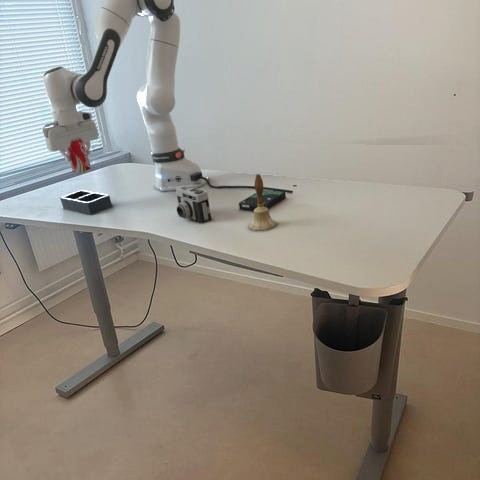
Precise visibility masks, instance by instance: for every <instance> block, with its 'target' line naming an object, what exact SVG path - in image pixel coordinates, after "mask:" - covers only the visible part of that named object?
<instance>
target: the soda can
mask: <svg viewBox="0 0 480 480" xmlns="http://www.w3.org/2000/svg"><path fill="white" fill-rule="evenodd" d="M65 153H66V154H67V155H68V156H70V157H71V161H68V162H69V165H70V168H71V171H72V172H73V173H75V174H77V175H80V174H85V173H88V172H90V170H91V169H92V167H91V162H90V158H89V155H88V154H87V151H86V145H85V144H84V142H83V141H82V140H81V138H79V139H76V140H71V145H70V147H69V148H66V152H65Z"/></svg>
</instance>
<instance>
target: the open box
mask: <svg viewBox="0 0 480 480" xmlns="http://www.w3.org/2000/svg"><path fill="white" fill-rule="evenodd" d="M110 196H111V195H110V194H106V193H100V192H94V191H90V190H84V189H80V190H77V191H74V192H72V193H68V194H66V195H63V196H61V197H59V199H60V202H61V206H62V208H63V210H67V211H72V212H76V213H80V214H85V215H89V216H92V215H95V214H97V213H100V212H102V211H104V210H107V209H109V208H112V207H113V204H112V200H111V197H110Z"/></svg>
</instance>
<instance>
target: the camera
mask: <svg viewBox="0 0 480 480" xmlns="http://www.w3.org/2000/svg"><path fill="white" fill-rule="evenodd" d="M175 193H176V199H177V203H178V204H177V207H176V213H177V215H178V216H179V217H180V218H182V219H187V220H188V219H189V220H191V221H195V222H198V223H199V224H204V223H207V222H209V221H211V220H212V212H211V207H210V202H209V195H208V194H209V193H208V191H205V190H203V189H200V188H194V187H190V186H182V187H179V188H176V190H175Z"/></svg>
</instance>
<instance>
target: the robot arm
mask: <svg viewBox="0 0 480 480" xmlns="http://www.w3.org/2000/svg"><path fill="white" fill-rule="evenodd" d="M174 2H175V0H102V2H101V4H100V6H99V9H98V11H97V13H96V17H95V21H94V25H93V26H94V27H93V31H94V33H95V36H96V39H97V46H96V50H95V52H94V56H93V59H92V61H91V64H90V66H89V69H88V70H87V72H86V73H85V74H84V73H78V72H75V71H72V70H70V69H67V68H66V67H64V66H56V67H53V68H51V69H48V70H46V71H45V73H44V74H43V77H42V79H43V86H44V90H45V94H46V97H47V100H48V102H49V103H50V107H51V113H52V116H53V120H54V121H51V122H49V123H48V122H47V123H45V124H44V126H43V127H42V133H43V136H44V139H45V144H46V147H47V150H48V151H50V152H52V153H53V152H59V153H60V154H61V155H62V157H64V160H65V162H69V161H71V157H70V156H68V155H67V152H66V148H69V147H70V145H71V140H76V139H79V138H81V140H82V141H83V142H84V144H85V147H86V151H87V154H88V156H90V155H91V151H90V149H91V146H92V144H91V142H93V141H96V140H98V139H99V137H100V134H99V130H98V127H97V125H96V122H95V121H94V120H93V114H92V113H91V112H88V111H82V110H79V109H78V105H79V104H82V105H84V106H86V107H87V108H98V107H100V106H102V105H103V104H104V102H105V101H106V98H107V94H108V79H109V76H110V74H111V71H112V68H113V65H114V62H115V60H116V57H117V53H118V51H119V50H120V48H121V46H122V44H123V42H124V40H125V39H126V37H127V34H128V32H129V30H130V28H131V26H132V23H133V20H134V18H135V17H136V16H137V17H145V18H148V20H149V23H150V32H149V40H148V45H147V51H146V59H145V60H146V61H145V66H146V67H145V68H146V83H143V85H141V86H140V88H139V89H138V91H137V94H136V99H137V102H138V105H139V109H140V113H141V115H142V118H143V122H144V125H145V127H146V131H147V134H148V139H149V144H150V148H151V152H150V154H151V159H152V163H153V166H154V173H155V185H154V186H155V188H156V189H158V190H160V191H161V192H170V191H171V192H172V191H176V188H179V187H182V186H190V187H194V188H196V189H199V188H200V187H202V186H205V184H207V185H208V186H209V187H210V188H212V189H252V190H253V189H255V185H219V186H217V185H216V186H215V185H213V184H211V183H210V181H209V176H208V175H203V172H202V169H201V167H200V166H199V165H198V164H197V163H195V162H193V161H192V160H191V159H189V158H187V157H185V152H186V149H185V148H184V149H182V148H180V147H179V140H178V135H177V130H176V126H175V125H174V122H173V119H172V117H171V112H172V111H173V110H174V108H175V106H176V97H175V89H176V88H175V87H176V67H177V60H178V53H179V48H180V39H181V20H180V16H179V15H178V14H177V13H175V4H174ZM263 190H267V191H285V193H289V194H293V193H294V190H291V189H290V190H289V189H283V188H277V187H268V186H267V187H266V186H263Z"/></svg>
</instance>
